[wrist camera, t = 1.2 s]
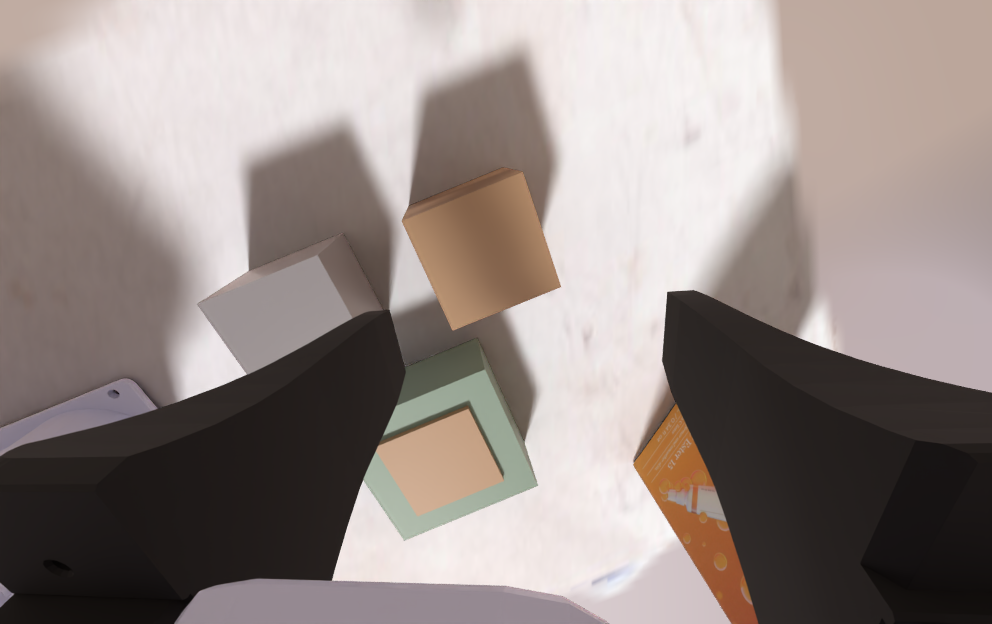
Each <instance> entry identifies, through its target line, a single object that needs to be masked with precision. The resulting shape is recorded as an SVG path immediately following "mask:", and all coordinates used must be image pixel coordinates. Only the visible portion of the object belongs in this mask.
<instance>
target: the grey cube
mask: <svg viewBox="0 0 992 624" xmlns="http://www.w3.org/2000/svg"><path fill="white" fill-rule="evenodd" d="M197 305H198V306H199V308H200V309H201V311H202V312H203V313H204V315H205V316H206V318H207V319H208V320H209V322H210V323H211V325H212V326H213V327H214V329H215V330H216V332H217V333H218V334H219V336H220V337H221V339H222V340H223V341H224V343H225V344H226V346H227V347H228V348H229V350H230V351H231V353H232V354H233V355H234V357H235V358H236V360H237V361H238V362H239V364H240V365H241V367H242V368H243V369H244V371H245V372H246V374H247V375H248V374H250V373H252V372H254V371H256V370H258V369H260V368H263V367H265V366H267V365H269V364H271V363H273V362H275V361H276V360H278V359H280V358H282V357H284V356H286V355H288V354H289V353H291V352H293V351H295V350H297V349H299V348H301V347H303V346H304V345H306V344H308V343H310V342H312V341H313V340H315V339H317V338H318V337H320V336H322V335H324V334H325V333H327V332H329V331H331V330H332V329H334V328H336V327H338V326H339V325H341V324H343V323H345V322H347V321H348V320H350V319H352V318H354V317H356V316H358V315H360V314H363V313H365V312H368V311H381V310H383V308H382V306H381V304H380V302H379V301H378V299H377V297H376V295H375V293H374V291H373V289H372V287H371V285H370V283H369V281H368V280H367V278H366V276H365V274H364V272H363V270H362V268H361V266H360V264H359V262H358V260H357V259H356V257H355V255H354V253H353V251H352V249H351V247H350V245H349V243H348V241H347V239H346V238H345V236H344V234H343V233H341V234H338V235H336V236H333V237H331V238H329V239H326V240H324V241H321V242H319V243H316V244H314V245H311V246H309V247H306V248H304V249H301V250H299V251H297V252H294V253H292V254H289V255H287V256H284V257H282V258H279V259H277V260H274V261H272V262H270V263H267V264H265V265H262V266H260V267H257V268H255V269H252V270H250V271H248V272H246V273H245V274H243V275H242V276H240V277H239V278H237V279H235V280H234V281H232V282H231V283H229V284H228V285H226V286H225V287H223V288H221V289H220V290H218V291H217V292H215V293H214V294H212V295H210V296H209V297H207V298H206V299H204V300H203V301H201V302H199V303H198V304H197Z"/></svg>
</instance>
